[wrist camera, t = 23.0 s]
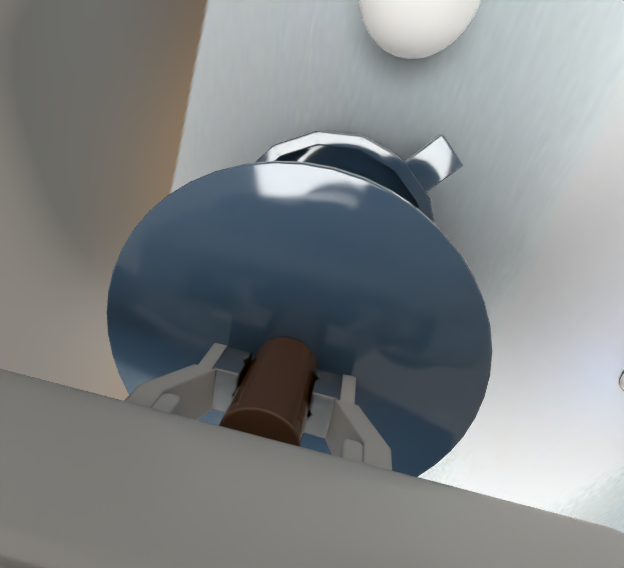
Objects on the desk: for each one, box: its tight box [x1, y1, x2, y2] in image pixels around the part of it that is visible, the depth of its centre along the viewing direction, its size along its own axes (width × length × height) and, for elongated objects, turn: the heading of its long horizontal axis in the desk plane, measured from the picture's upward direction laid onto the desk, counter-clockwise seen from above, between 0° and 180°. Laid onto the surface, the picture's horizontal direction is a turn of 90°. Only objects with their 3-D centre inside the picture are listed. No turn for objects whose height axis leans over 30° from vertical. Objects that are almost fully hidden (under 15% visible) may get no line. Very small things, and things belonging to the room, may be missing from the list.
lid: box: [107, 161, 492, 477], centre depth 14 cm, size 16×16×5 cm
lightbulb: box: [359, 0, 482, 59], centre depth 21 cm, size 6×6×11 cm
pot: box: [255, 131, 462, 222], centre depth 29 cm, size 15×20×7 cm
